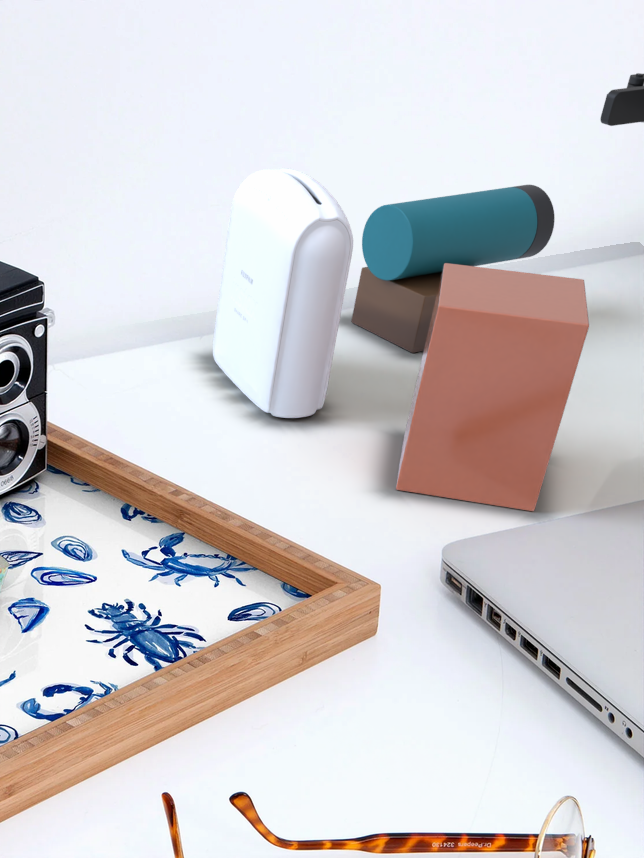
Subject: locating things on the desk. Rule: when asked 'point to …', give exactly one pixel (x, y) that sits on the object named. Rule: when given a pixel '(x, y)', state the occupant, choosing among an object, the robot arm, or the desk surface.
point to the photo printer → (282, 291)
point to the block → (397, 308)
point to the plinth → (493, 385)
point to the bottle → (457, 231)
